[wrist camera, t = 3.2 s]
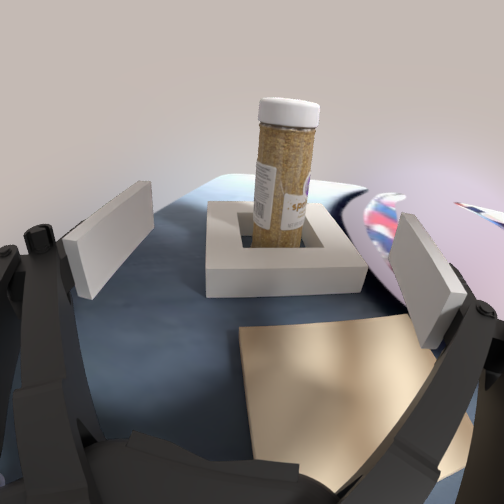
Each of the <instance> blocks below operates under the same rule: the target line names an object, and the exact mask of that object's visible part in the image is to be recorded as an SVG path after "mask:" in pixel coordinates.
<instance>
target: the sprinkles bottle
mask: <svg viewBox="0 0 504 504" xmlns="http://www.w3.org/2000/svg"><path fill="white" fill-rule="evenodd" d="M319 114H320V106H319V105H318V104H316V103H312V102H309V101H303V100H296V99H286V98H275V97H274V98H273V97H271V98H262V99H261V100H260V104H259V114H258V120H259V121H260V122H261V123H260V124H259V126H260V135H259V148H258V158H257V164H256V179H255V193H254V208H253V221H254V224H253V236H252V243H251V246H250V248H300V242H301V235H302V228H303V224H304V219H305V212H306V205H307V197H308V189H309V182H310V174H311V170H310V169H311V160H312V152H313V143H314V135H315V132H316V130H315V128H316V127H318V124H319Z"/></svg>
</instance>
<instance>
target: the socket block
mask: <svg viewBox="0 0 504 504" xmlns="http://www.w3.org/2000/svg"><path fill="white" fill-rule="evenodd" d="M253 208H254V202H248V201H208V207H207V233H206V268H205V270H206V298H231V297H273V296H300V295H322V294H341V293H358V292H361V289H362V286H363V283H364V280H365V277H366V273H367V270H368V267H369V266H368V265H367V263H366V262H365V261H364V259H363V258H362V256H361V255H360V254H359V252H358V251H357V250H356V248H355V247H354V245H353V244H352V243H351V241H350V240H349V239H348V237H347V236H346V235H345V233H344V232H343V231H342V229H341V228H340V227H339V225H338V224H337V223H336V222H335V220H334V219H333V218H332V216H331V215H330V214H329V213H328V211H327V210H326V209H325V207H324V206H323V205H322V204H319V203H307V205H306V212H305V219H304V224H303V228H302V235H301V238H302V240H303V242H304V244H305V246H306V248H243V246H242V241H241V236H253V224H254V221H253Z"/></svg>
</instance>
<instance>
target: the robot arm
mask: <svg viewBox="0 0 504 504" xmlns="http://www.w3.org/2000/svg"><path fill="white" fill-rule="evenodd" d="M153 229H154V216H153V205H152V190H151V182H150V181H138V182H137V183H135V184H134V185H132V186H130V187H129V188H128V189H126V190H125V191H123V192H122V193H121V194H119V195H118V196H116V197H115V198H114V199H112V200H111V201H110V202H108V203H107V204H106V205H104V206H103V207H102V208H100V209H99V210H98V211H96V212H95V213H94V214H92V215H91V216H90V217H89V218H87V219H85V220H83V221H81V222H80V223H79V224H78V225H76V226H75V228H73V229H71V230H70V232H68V233H67V234H65V235H64V236H63V237H62V238H60V239H59V240H58V241H57V242H56V241H55V237H54V233H53V229H52V226H51V225H49V224H40V225H37V226H34V227H32V228H30V229H28V230H27V231H26V232H25V233H24V239H25V243H26V246H27V250H28V253H29V255H20V254H19V251H18V248H17V246H15V245H8V246H7V245H6V246H4V247H1V248H0V456H1V452H2V447H3V440H4V432H5V423H6V416H7V409H8V403H9V397H10V391H11V386H12V381H13V376H14V372H15V367H16V363H17V359H18V355H19V351H20V347H21V382H22V387H21V388H20V389H15V390H14V392H13V412H14V423H15V432H16V440H17V446H18V453H19V459H20V464H21V469H22V474H23V478H21V479H18V480H16V481H13V482H11V483H9V484H6V485H5V479H4V477H3V475H2V474H1V473H0V504H423V503H424V502H425V500H426V499H427V497H428V496H429V494H430V492H431V491H432V489H433V488H434V486H435V484H436V483H437V481H438V479H439V477H440V474H441V471H440V470H439V469H438V466H439V464H440V462H441V460H442V458H443V456H444V455H445V453H446V451H447V449H448V447H449V445H450V443H451V441H452V439H453V438H454V436H455V434H456V432H457V429H458V427H459V425H460V423H461V421H462V419H463V417H464V415H465V412H466V410H467V408H468V405H469V403H470V401H471V398H472V396H473V393H474V391H475V388H476V386H477V383H478V380H479V388H478V398H477V406H476V414H475V421H474V427H473V433H472V439H471V444H470V449H469V453H468V458H467V462H466V466H465V470H464V474H463V478H462V482H461V485H460V489H459V492H458V495H457V499H456V502H455V504H504V321H502V320H499V319H497V314H496V312H495V310H494V309H493V308H492V307H491V306H490V305H489V304H487V303H486V302H484V301H481V300H476V298H475V296H474V294H473V293H472V291H471V289H470V288H469V286H468V285H467V284H466V281H465V280H464V279H463V277H462V275H461V274H460V272H459V271H458V270H457V269H456V268H455V267H454V266H453V265H452V264H451V263H448V262H447V260H446V259H445V257H444V256H443V254H442V253H441V251H440V250H439V248H438V247H437V245H436V244H435V242H434V241H433V240H432V238H431V237H430V235H429V234H428V233H427V231H426V230H425V228H424V227H423V226H422V224H421V223H420V222H419V220H418V219H417V217H416V216H415V215H413V214H407V213H403V212H402V213H401V216H400V220H399V224H398V227H397V231H396V234H395V237H394V241H393V244H392V247H391V250H390V254H389V257H388V259H389V262H390V264H391V267H392V269H393V272H394V274H395V277H396V279H397V281H398V284H399V287H400V289H401V292H402V295H403V297H404V300H405V303H406V306H407V309H408V311H409V314H410V317H411V320H412V323H413V326H414V329H415V332H416V335H417V338H418V341H419V344H420V348H421V349H437V348H438V346H439V344H440V343H441V341H442V339H443V338H444V341H445V343H446V347H445V348H444V350H443V351H442V353H441V354H440V356H439V357H438V359H437V360H436V362H435V363H434V367H433V369H432V370H431V372H430V374H429V375H428V377H427V379H426V380H425V382H424V383H423V385H422V387H421V388H420V390H419V391H418V393H417V394H416V396H415V397H414V399H413V400H412V402H411V403H410V405H409V406H408V408H407V409H406V411H405V412H404V413H403V415H402V416H401V418H400V419H399V420H398V422H397V423H396V424H395V426H394V427H393V428H392V430H391V431H390V432H389V434H388V435H387V436H386V437H385V439H384V440H383V441H382V443H381V444H380V445H379V446H378V447H377V449H376V450H375V451H374V452H373V453H372V455H371V456H370V457H369V458H368V459H367V461H366V462H365V463H364V464H363V465H362V466H361V467H360V468H359V470H358V471H357V472H356V473H355V474H354V475H353V476H352V477H351V478H350V479H349V480H348V481H347V482H346V483H345V484H344V485H343V486H342V487H341V488H339V489H338V490H337V491H336V492H335V493H334V492H333V491H332V490H331V489H329V488H328V487H327V486H325V485H324V484H323V483H321V482H319V481H317V480H315V479H313V478H311V477H309V476H306V475H304V474H301V473H299V466H300V464H297V463H285V462H275V461H267V460H259V459H254V460H239V461H209V460H206V459H204V458H202V457H200V456H198V455H196V454H193V453H191V452H189V451H187V450H186V449H184V448H182V447H180V446H178V445H176V444H174V443H172V442H170V441H167V440H163V439H160V438H156V437H153V436H150V435H147V434H143V433H140V432H137V431H134V430H133V431H132V433H131V435H130V438H129V439H110V440H106V438H105V436H104V434H103V433H102V430H101V428H100V425H99V422H98V419H97V415H96V412H95V408H94V405H93V401H92V398H91V394H90V390H89V386H88V382H87V378H86V374H85V369H84V365H83V360H82V355H81V350H80V345H79V339H78V334H77V328H76V321H75V315H74V307H73V300H72V295H71V292H70V290H71V289H72V288H73V286H74V285H75V287H76V290H77V293H78V296H79V297H83V298H86V299H90V300H93V299H94V297H95V296H96V295H97V294H98V292H99V291H100V290H101V289H102V287H103V286H104V285H105V284H106V283H107V281H108V280H109V279H110V278H111V277H112V275H113V274H114V273H115V272H116V271H117V269H118V268H119V267H120V266H121V265H122V264H123V262H124V261H125V260H126V259H127V258H128V257H129V255H130V254H131V253H132V252H133V251H134V250H135V249H136V247H137V246H138V245H139V244H140V243H141V242H142V241H143V240H144V239H145V237H146V236H147V235H148V234H149V233H150V232H151V231H152V230H153Z"/></svg>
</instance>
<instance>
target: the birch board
mask: <svg viewBox="0 0 504 504" xmlns="http://www.w3.org/2000/svg"><path fill="white" fill-rule="evenodd" d="M239 346H240V355H241V363H242V372H243V380H244V388H245V396H246V404H247V412H248V420H249V428H250V435H251V443H252V450H253V457H254V459H259V460H267V461H275V462H285V463H297V464H300V466H299V473H301V474H304V475H306V476H309V477H311V478H313V479H315V480H317V481H319V482H321V483H323V484H324V485H325V486H327V487H328V488H329V489H331V490H332V491H333V492H334V493H335V492H336V491H337V490H338V489H339V488H341V487H342V486H343V485H344V484H345V483H346V482H347V481H348V480H349V479H350V478H351V477H352V476H353V475H354V474H355V473H356V472H357V471H358V470H359V468H360V467H361V466H362V465H363V464H364V463H365V462H366V461H367V459H368V458H369V457H370V456H371V455H372V453H373V452H374V451H375V450H376V449H377V447H378V446H379V445H380V444H381V443H382V441H383V440H384V439H385V437H386V436H387V435H388V434H389V432H390V431H391V430H392V428H393V427H394V426H395V424H396V423H397V422H398V420H399V419H400V418H401V416H402V415H403V413H404V412H405V411H406V409H407V408H408V406H409V405H410V403H411V402H412V400H413V399H414V397H415V396H416V394H417V393H418V391H419V390H420V388H421V387H422V385H423V383H424V382H425V380H426V379H427V377H428V375H429V374H430V372H431V370H432V369H433V367H434V363H435V362H436V358H435V357H434V355H433V353H432V352H431V350H430V349H421V348H420V344H419V341H418V338H417V335H416V332H415V329H414V326H413V323H412V320H411V319H410V317H409V316H408V314H402V315H395V316H386V317H377V318H368V319H358V320H348V321H337V322H325V323H311V324H296V325H279V326H256V327H239ZM473 427H474V426H473V424H472V423H471V421H470V419H469V417H468V415H467V413H466V412H465V415H464V417H463V419H462V421H461V423H460V425H459V427H458V429H457V432H456V434H455V436H454V438H453V439H452V441H451V443H450V445H449V447H448V449H447V451H446V453H445V455H444V456H443V458H442V460H441V462H440V464H439V466H438V469H439V470H440V471H441V474H440V477H439V479H438V481H440V480H442V479H444V478H446V477H448V476H450V475H452V474H454V473H455V472H457V471H459V470H461V469H463V468H464V467H465V466H466V462H467V458H468V453H469V449H470V444H471V439H472V433H473ZM438 481H437V482H438Z"/></svg>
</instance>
